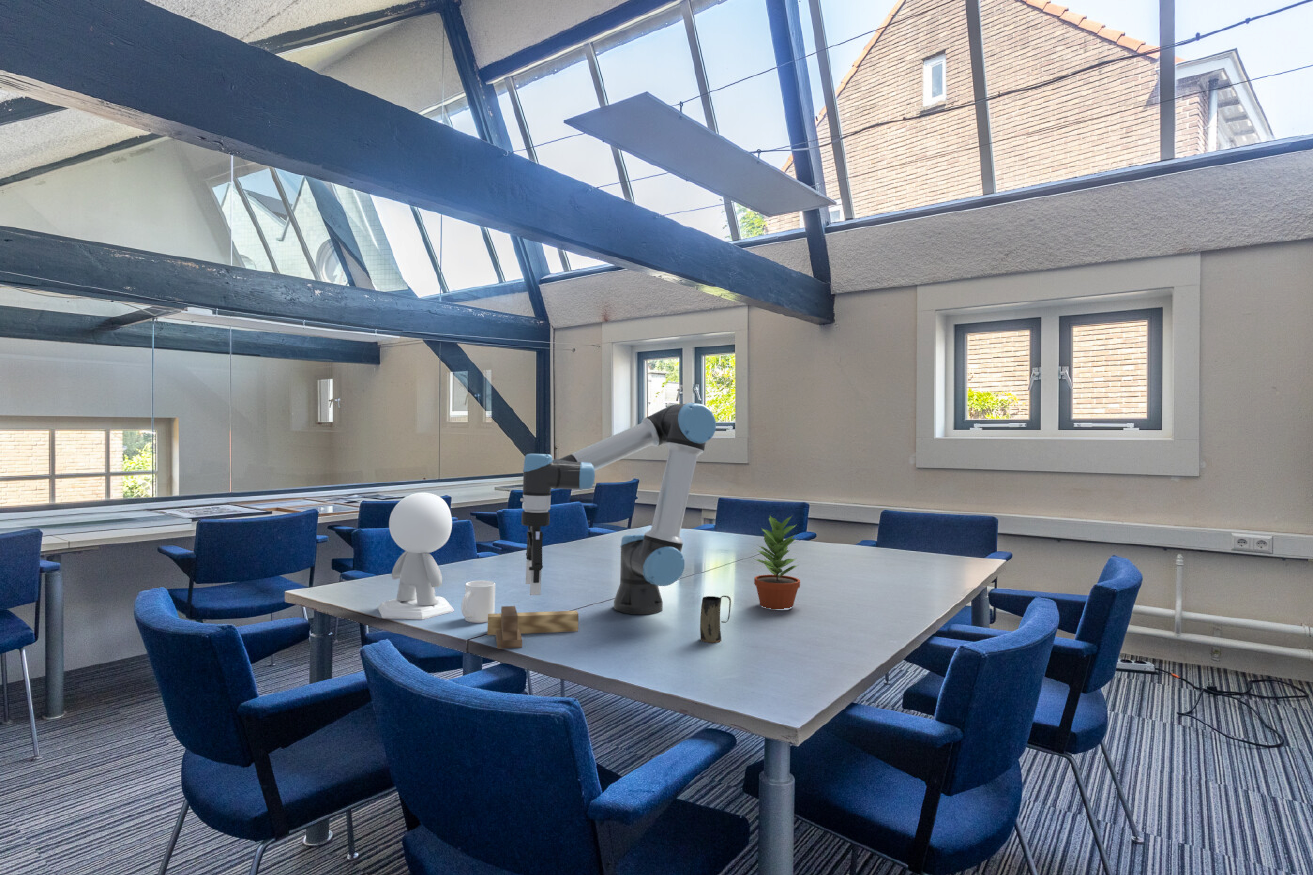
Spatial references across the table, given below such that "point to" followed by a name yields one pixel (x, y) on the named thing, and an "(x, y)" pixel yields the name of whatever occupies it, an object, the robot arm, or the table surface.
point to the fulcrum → (508, 629)
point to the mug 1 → (478, 601)
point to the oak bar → (538, 622)
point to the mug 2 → (711, 619)
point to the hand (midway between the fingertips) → (532, 589)
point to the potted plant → (777, 569)
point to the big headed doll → (418, 557)
